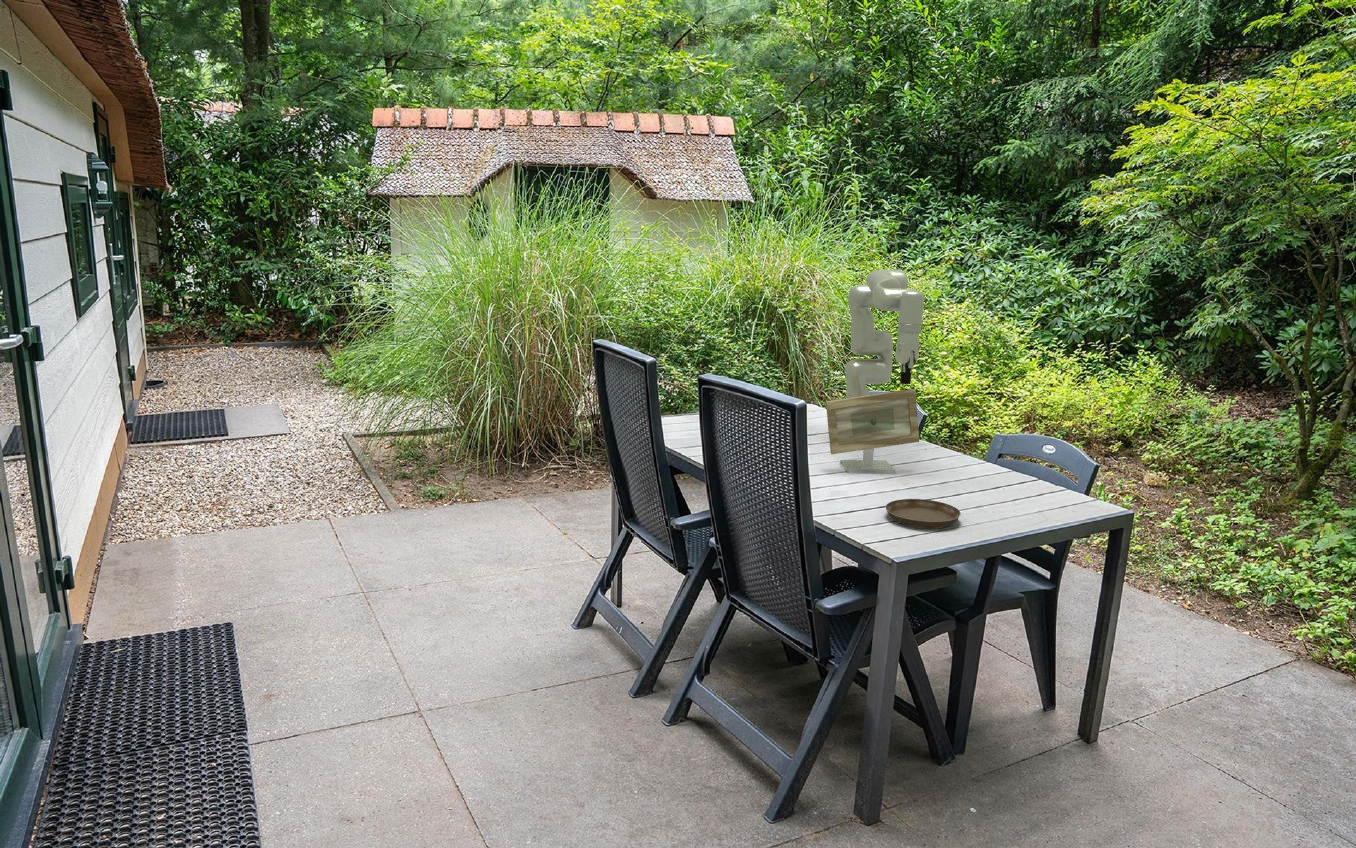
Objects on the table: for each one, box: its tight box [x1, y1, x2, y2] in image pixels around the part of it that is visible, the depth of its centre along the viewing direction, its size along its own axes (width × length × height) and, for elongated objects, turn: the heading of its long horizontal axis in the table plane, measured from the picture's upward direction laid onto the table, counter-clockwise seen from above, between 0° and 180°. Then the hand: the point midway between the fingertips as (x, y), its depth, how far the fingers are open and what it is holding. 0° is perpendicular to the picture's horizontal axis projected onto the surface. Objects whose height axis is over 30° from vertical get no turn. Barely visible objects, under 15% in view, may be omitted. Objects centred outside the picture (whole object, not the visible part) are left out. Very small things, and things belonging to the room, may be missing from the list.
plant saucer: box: [885, 498, 962, 530], centre depth 265 cm, size 21×21×3 cm
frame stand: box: [839, 448, 897, 475], centre depth 317 cm, size 12×16×18 cm
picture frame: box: [825, 388, 920, 455], centre depth 313 cm, size 3×30×18 cm, turn 94°
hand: (905, 383), depth 311 cm, fingers closed
